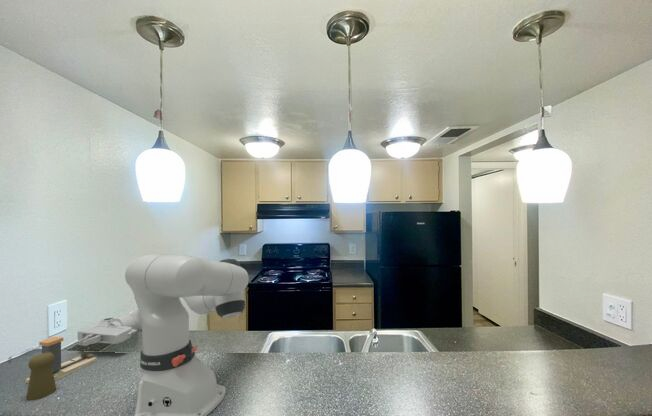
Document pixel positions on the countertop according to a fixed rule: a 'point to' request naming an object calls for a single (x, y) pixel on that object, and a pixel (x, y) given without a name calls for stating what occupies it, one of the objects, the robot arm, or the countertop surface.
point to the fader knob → (53, 350)
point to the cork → (41, 377)
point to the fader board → (73, 365)
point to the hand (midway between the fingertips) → (81, 343)
